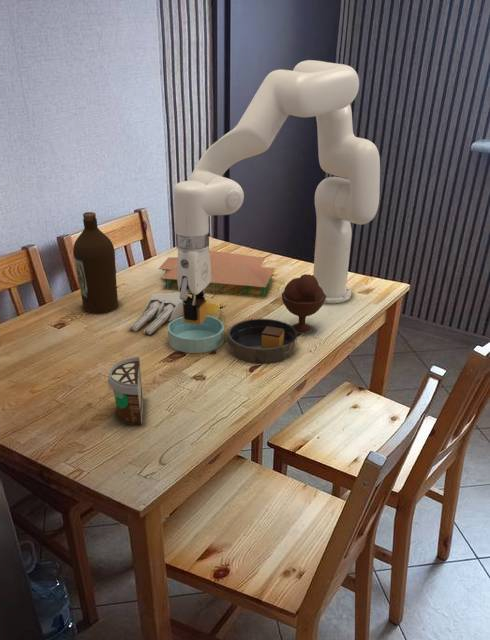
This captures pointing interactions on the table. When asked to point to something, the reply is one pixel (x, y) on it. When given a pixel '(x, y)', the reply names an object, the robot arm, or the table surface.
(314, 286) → the ice cream bowl
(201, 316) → the snack cake
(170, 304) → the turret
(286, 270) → the table surface
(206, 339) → the blue bowl
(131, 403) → the food container
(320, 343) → the table surface
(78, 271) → the olive oil
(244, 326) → the charcoal bowl
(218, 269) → the house
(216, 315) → the bread roll
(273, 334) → the snack cake
